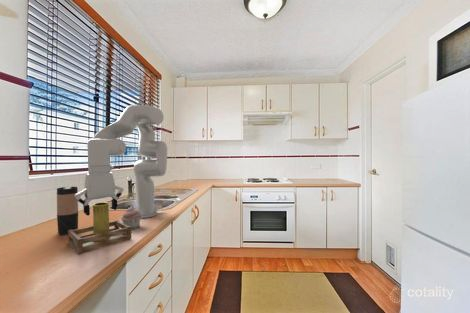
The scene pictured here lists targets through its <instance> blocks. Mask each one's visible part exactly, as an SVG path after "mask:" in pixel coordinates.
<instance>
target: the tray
mask: <svg viewBox="0 0 470 313" xmlns="http://www.w3.org/2000/svg"><path fill="white" fill-rule="evenodd" d="M111 227H112V228H111ZM89 232H91V233H89ZM84 233H87V234H84ZM79 234H83V235H79ZM108 237H110V238H109V239H108V240H105V241H101V242H94V241H96V240H100V239H104V238H108ZM130 239H131V240H132V229H131V226H127V225H125V224H123V222H122V221H120V220H118V219H115V220H113V221H109V232H105V233H101V234H97V235H93V225H90V226H86V227H81V228H78V229H75V230H68V234H67V244H68V245H69V246H70V247H71V248H72V249H73V250H74V251H75V252H76V254H77V255H81V254H84V253H87V252H91V251H95V250H99V249H103V248H105V247H109V246H112V245H116V244H119V243H122V242H126V241H131V240H130Z"/></svg>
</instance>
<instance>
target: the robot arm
mask: <svg viewBox="0 0 470 313" xmlns="http://www.w3.org/2000/svg"><path fill="white" fill-rule="evenodd" d="M163 121H164V113H163V111H162V110H161V109H160V108H157V107H155V106H152V105H150V104H132V105H128V106H127V107H125V109H124V110H123V112H122V113H121V114H120V116H119V117H118V119H117V120H116V121H115V122H112V123H111V124H109V125H107V126H105V127H103V128H101V129H100V130H98V131H97V132H96V133H95V135H93V137H92V138H89V140H87V144H86V146H87V163H88V164H87V168H88V169H87V170H88V173H86V174H85V179H84V189H82V190H80V191H78V193H77V194H75V195H74V196H75V198H76V199H77V200H78V203H80V204H81V205H83V213H84V214H85V215H86V216H90V214H91V212H90V210H91V209H90V205H89V203H90V202H91V201H92V200H99V199H106V198H112V199H111V209H112V210H114V211H116V210H117V208H118V200H119V198H120V197H121V196H122V194H123V192H124V188H123V187H120V186H118V185H116V184H115V179H114V178H115V177H114V174H113V172H112V170H115V166H114V165H112V164H111V157H120V156H122V155H124V154H125V153H126V151H127V145H126V142H125V141H123V140H122V139H119V138H123V137H126V136H129V135H131V134H132V133H133V132H134V131H135V129H136V128H137V131H138V136H139V137H138V148H137V150H138V152H137V153H138V155H139V157H142V158H156V159H139V160H137V161H136V162H135V163H134V164H133V172H134V177H135V203H136V204H135V205H136V206H135V207H136V208H135V209H137V210H138V211H139V212H140V213H141V215H140V216H142V218H141V219H146V218H152V217H154V216H157V215H158V212H157V211H159V210H163V206H162V205H160V206H157V205H155V184H154V181H153V179H152V178H151V177H155V178H158V177H163V176H165V174H166V173H167V164H168V161H167V160H168V147H167V143H166V142H165V141H162V140H156V139H155V138H156V133H155V131H154V129H153V128H152V127H151V125H161V124H162V123H163ZM116 190H117V193H116ZM81 196H84V199H82V197H81Z"/></svg>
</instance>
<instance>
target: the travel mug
mask: <svg viewBox="0 0 470 313" xmlns="http://www.w3.org/2000/svg"><path fill="white" fill-rule="evenodd" d="M77 193H79V190H78V186H71V187H68V188H67V187H65V186H64V187H58V188H56V219H57V220H56V222H57V234H58V235H59V236H66V235H67V236H68V230H75V229H79V202H78V200H77V199H76V198H75V196H74V195H75V194H77Z"/></svg>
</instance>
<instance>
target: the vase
mask: <svg viewBox="0 0 470 313" xmlns="http://www.w3.org/2000/svg"><path fill="white" fill-rule="evenodd" d="M92 210H93V211H92V212H93V214H92V216H93V225H92V226H93V231H92V233H93V235H97V234H101V233H105V232H109V229H110V227H109V222H110V217H109V216H110V213H109V202H107V201H106V202H97V203H94V204H92ZM109 238H110V237H108V238H104V239H100V240H96V241H94V242H101V241H105V240H108V239H109Z"/></svg>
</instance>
